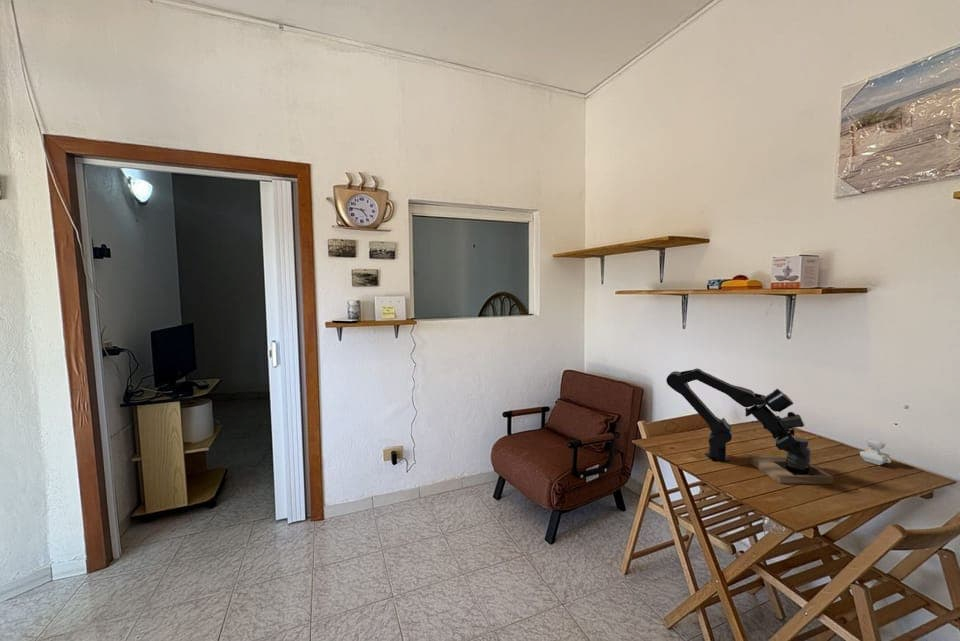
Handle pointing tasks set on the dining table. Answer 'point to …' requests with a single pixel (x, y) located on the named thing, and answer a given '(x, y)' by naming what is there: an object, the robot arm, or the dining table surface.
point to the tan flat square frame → (776, 471)
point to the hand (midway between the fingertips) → (803, 454)
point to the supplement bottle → (799, 459)
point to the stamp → (875, 453)
